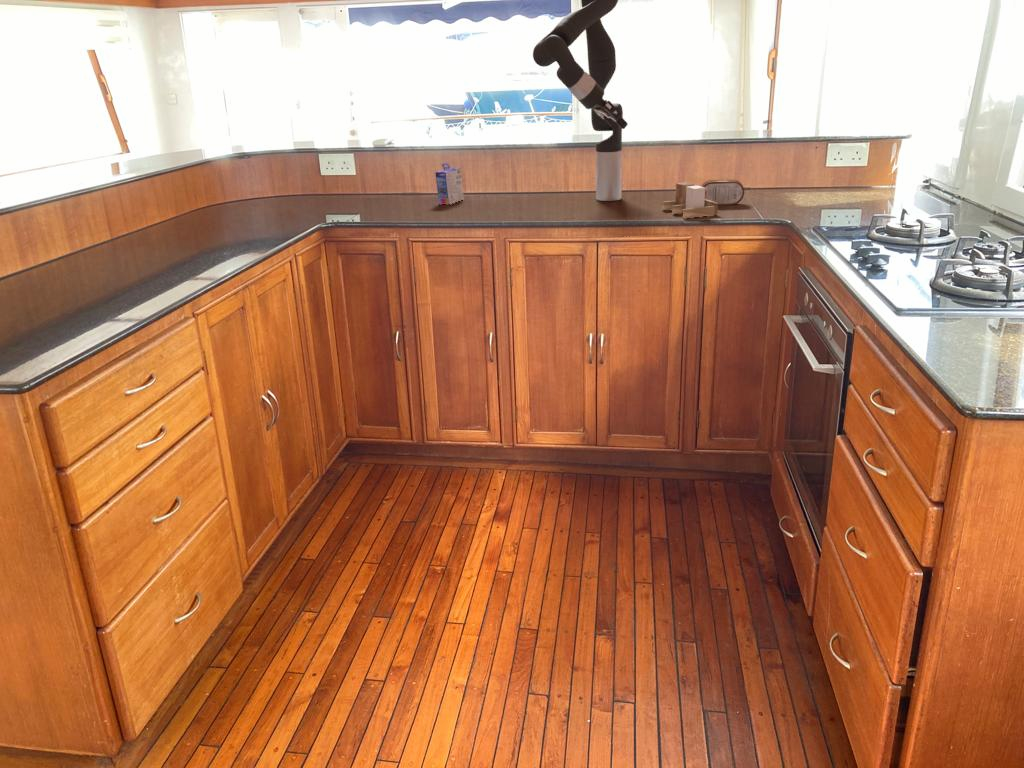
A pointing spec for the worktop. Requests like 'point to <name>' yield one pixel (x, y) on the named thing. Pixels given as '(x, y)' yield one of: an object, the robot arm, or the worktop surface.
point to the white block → (695, 197)
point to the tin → (724, 191)
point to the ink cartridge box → (449, 185)
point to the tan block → (681, 192)
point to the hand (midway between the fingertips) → (620, 125)
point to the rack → (692, 209)
